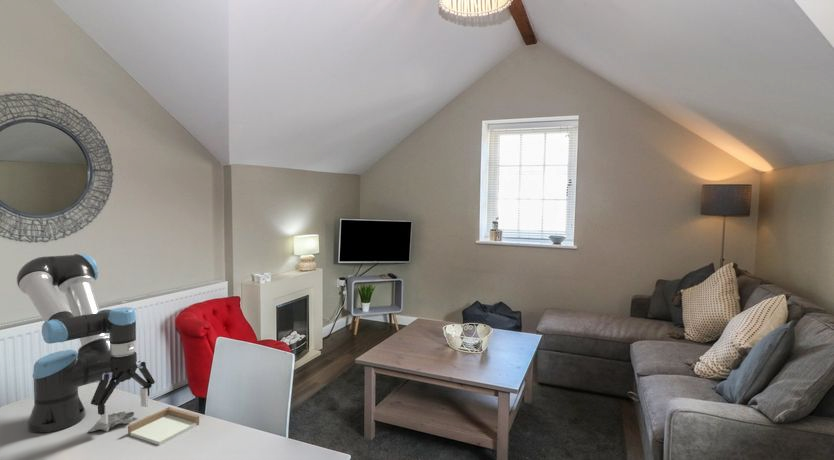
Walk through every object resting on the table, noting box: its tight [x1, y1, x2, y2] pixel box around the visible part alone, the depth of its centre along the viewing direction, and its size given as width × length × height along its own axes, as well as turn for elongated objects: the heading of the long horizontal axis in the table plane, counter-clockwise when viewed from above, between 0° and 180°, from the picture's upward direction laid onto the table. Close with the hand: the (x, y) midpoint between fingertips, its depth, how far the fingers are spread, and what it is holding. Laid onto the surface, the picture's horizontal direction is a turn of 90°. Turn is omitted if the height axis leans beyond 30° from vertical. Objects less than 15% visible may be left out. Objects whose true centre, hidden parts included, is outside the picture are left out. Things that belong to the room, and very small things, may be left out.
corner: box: [127, 407, 200, 446], centre depth 148 cm, size 15×15×3 cm
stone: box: [87, 411, 135, 433], centre depth 148 cm, size 6×12×4 cm, turn 100°
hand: (125, 414), depth 150 cm, fingers open, 13 cm apart
